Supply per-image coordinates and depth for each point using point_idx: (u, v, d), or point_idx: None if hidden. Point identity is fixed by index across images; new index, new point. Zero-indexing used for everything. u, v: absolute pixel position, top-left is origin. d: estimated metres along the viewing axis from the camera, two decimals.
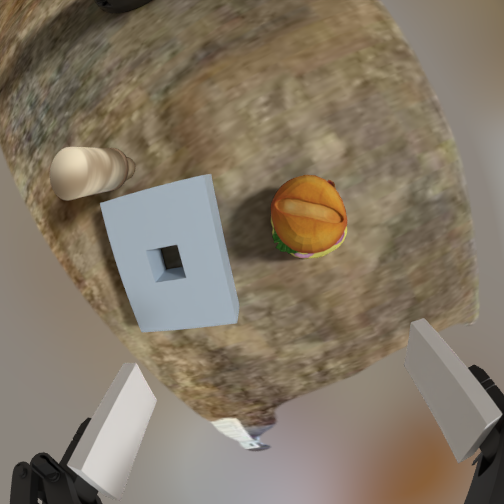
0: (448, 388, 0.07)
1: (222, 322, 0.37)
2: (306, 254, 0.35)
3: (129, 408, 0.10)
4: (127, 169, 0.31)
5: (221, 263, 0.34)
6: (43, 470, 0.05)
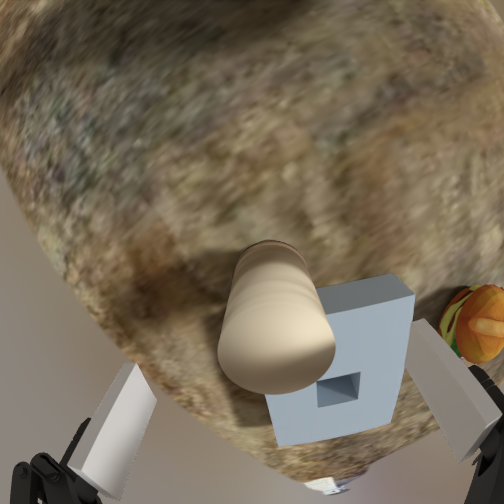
0: (448, 388, 0.07)
1: (376, 425, 0.27)
2: None
3: (129, 408, 0.10)
4: None
5: (400, 380, 0.24)
6: (43, 470, 0.05)
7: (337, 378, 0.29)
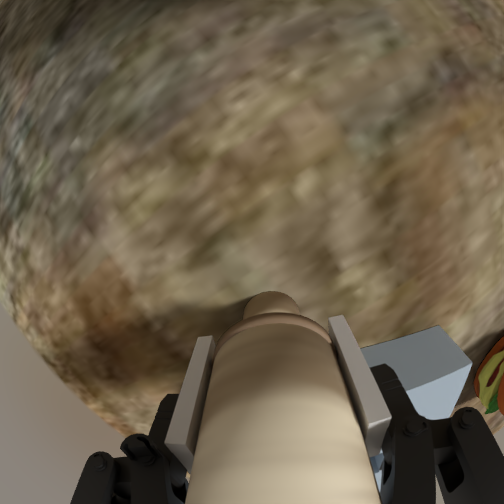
0: (348, 382, 0.09)
1: None
2: None
3: None
4: None
5: None
6: (136, 452, 0.06)
7: None
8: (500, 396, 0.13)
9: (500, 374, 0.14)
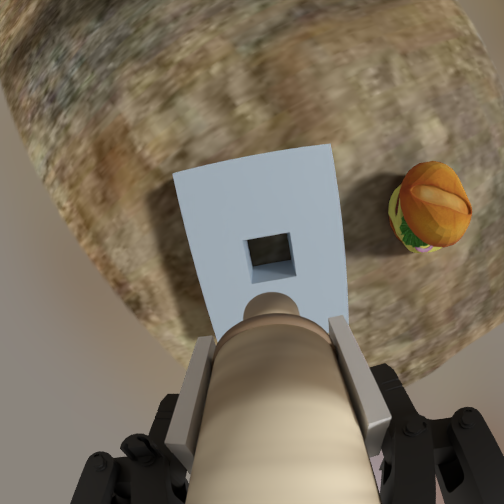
0: (348, 382, 0.09)
1: None
2: (426, 248, 0.27)
3: None
4: None
5: (343, 256, 0.26)
6: (136, 452, 0.06)
7: (278, 264, 0.31)
8: (404, 213, 0.25)
9: None
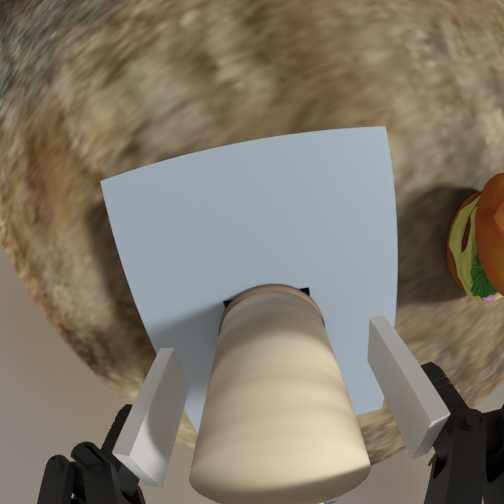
0: (399, 383, 0.08)
1: (358, 412, 0.17)
2: (492, 296, 0.15)
3: (169, 392, 0.11)
4: None
5: (392, 320, 0.15)
6: (85, 460, 0.06)
7: None
8: (482, 252, 0.13)
9: (473, 226, 0.14)
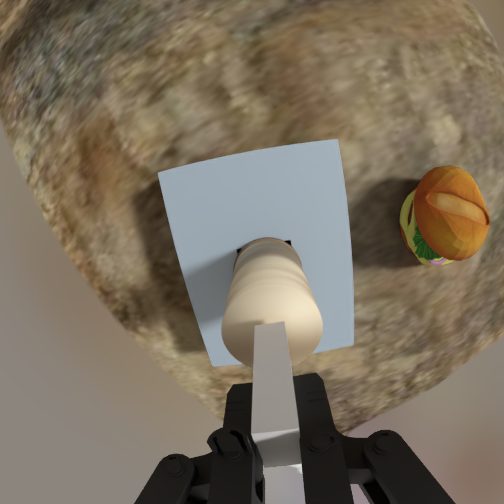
0: None
1: (335, 346, 0.26)
2: (439, 260, 0.24)
3: None
4: None
5: (350, 267, 0.23)
6: (223, 447, 0.06)
7: None
8: (419, 223, 0.22)
9: None
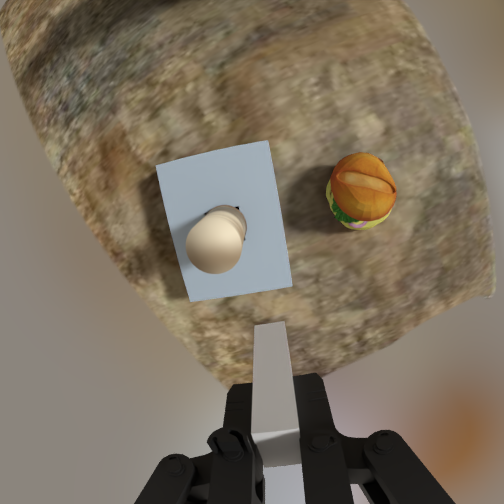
0: None
1: (278, 286, 0.38)
2: (359, 224, 0.36)
3: None
4: (245, 229, 0.35)
5: (281, 224, 0.35)
6: (223, 447, 0.06)
7: None
8: (333, 195, 0.34)
9: None
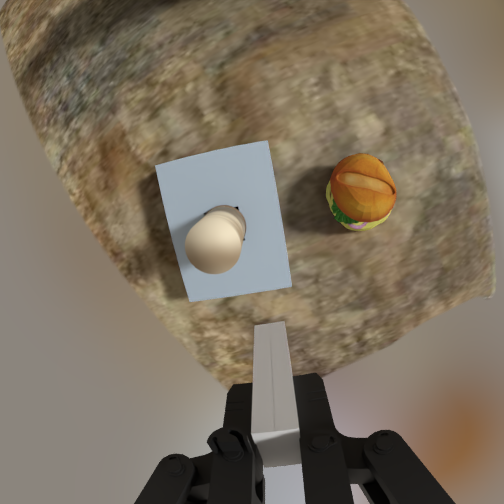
0: None
1: (277, 286, 0.38)
2: (359, 225, 0.36)
3: None
4: (245, 229, 0.35)
5: (281, 225, 0.35)
6: (223, 447, 0.06)
7: None
8: (333, 196, 0.34)
9: None
